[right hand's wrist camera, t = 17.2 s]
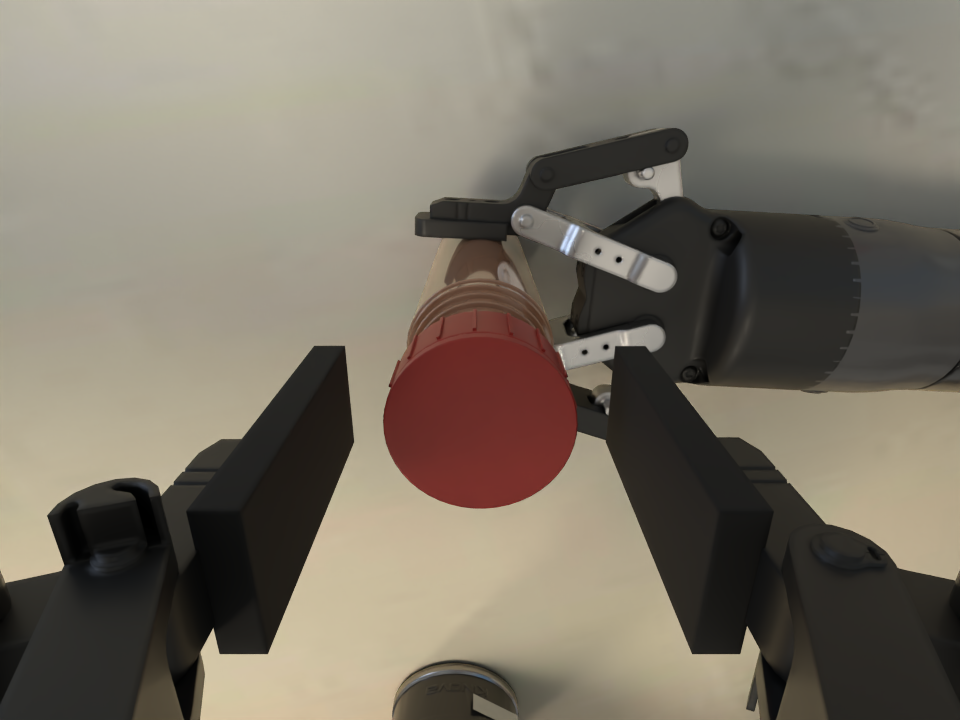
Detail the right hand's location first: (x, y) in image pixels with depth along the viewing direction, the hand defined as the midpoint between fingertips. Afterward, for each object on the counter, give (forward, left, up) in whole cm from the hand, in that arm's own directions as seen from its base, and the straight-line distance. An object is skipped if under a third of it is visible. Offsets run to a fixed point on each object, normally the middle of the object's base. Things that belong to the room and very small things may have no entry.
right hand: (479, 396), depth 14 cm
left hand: (-2, +2, -11) cm, 11 cm away
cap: (0, 0, +1) cm, 1 cm away
